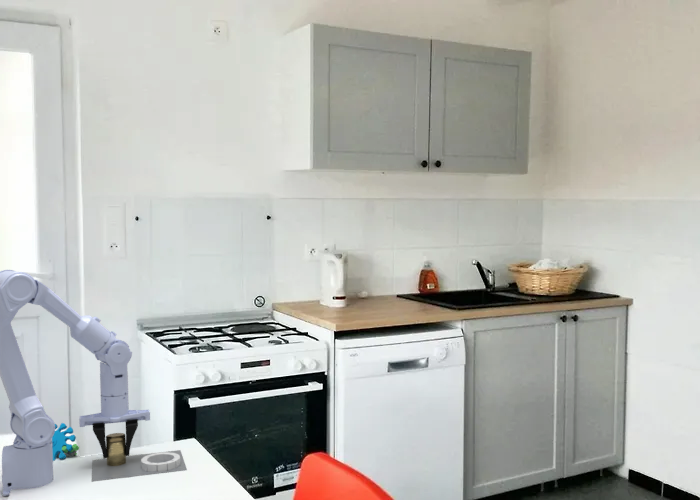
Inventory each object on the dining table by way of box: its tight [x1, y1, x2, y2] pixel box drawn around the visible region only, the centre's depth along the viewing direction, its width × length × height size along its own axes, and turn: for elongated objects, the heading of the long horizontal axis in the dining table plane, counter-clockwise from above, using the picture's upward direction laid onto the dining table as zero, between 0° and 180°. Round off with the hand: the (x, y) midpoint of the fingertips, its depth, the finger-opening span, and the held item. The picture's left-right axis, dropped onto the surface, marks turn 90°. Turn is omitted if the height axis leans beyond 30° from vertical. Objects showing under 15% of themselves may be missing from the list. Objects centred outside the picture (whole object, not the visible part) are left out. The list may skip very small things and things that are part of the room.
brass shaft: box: [105, 432, 126, 466], centre depth 160 cm, size 4×4×6 cm
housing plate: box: [91, 449, 188, 483], centre depth 159 cm, size 19×14×2 cm
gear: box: [52, 422, 80, 462], centre depth 167 cm, size 11×6×10 cm
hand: (116, 455), depth 160 cm, fingers closed on brass shaft, 4 cm apart
